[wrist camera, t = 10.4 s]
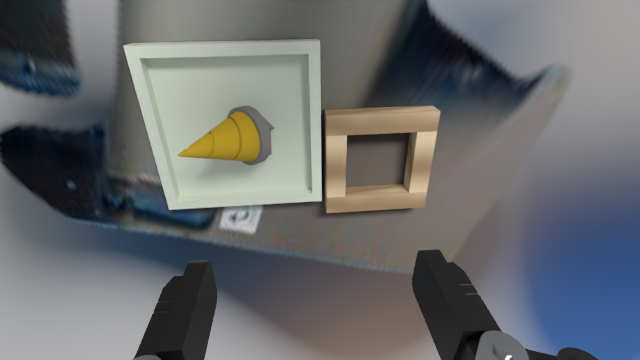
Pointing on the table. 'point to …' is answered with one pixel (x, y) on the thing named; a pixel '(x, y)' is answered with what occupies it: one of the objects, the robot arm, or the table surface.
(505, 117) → the table surface
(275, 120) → the tray
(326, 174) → the square wooden frame
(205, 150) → the yellow cone
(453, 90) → the table surface
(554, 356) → the robot arm
